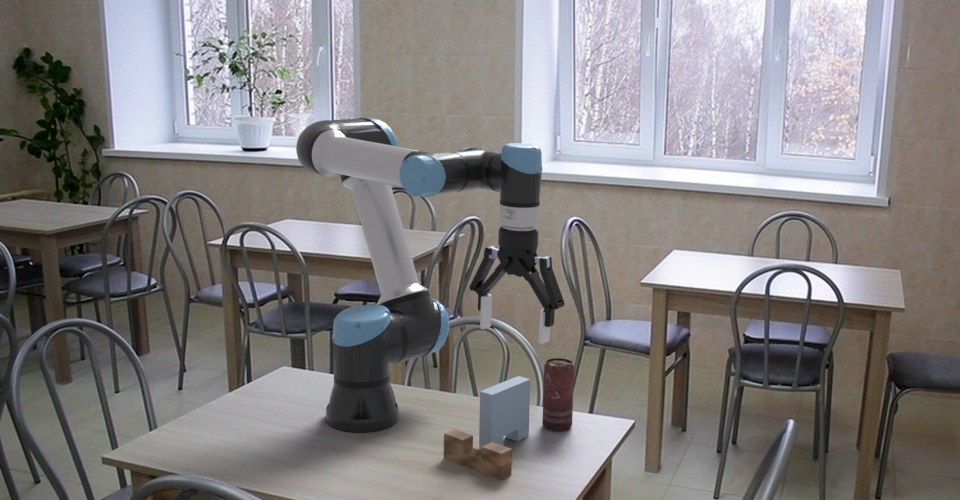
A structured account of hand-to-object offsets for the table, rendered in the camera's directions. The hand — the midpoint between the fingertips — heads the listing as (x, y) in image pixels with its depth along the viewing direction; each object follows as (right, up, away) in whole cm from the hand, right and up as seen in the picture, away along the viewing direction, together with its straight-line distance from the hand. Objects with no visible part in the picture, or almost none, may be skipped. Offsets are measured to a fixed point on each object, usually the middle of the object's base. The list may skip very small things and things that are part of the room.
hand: (514, 334), depth 189 cm
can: (+10, -20, +14) cm, 26 cm away
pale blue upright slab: (-2, -22, +5) cm, 23 cm away
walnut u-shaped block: (-7, -24, -6) cm, 26 cm away
